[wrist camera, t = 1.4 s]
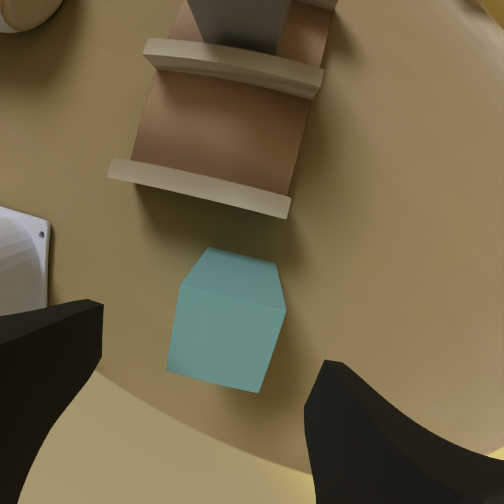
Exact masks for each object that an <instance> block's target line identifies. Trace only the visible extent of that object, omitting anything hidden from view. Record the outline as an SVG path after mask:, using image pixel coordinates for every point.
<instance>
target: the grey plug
mask: <svg viewBox="0 0 504 504" xmlns="http://www.w3.org/2000/svg"><path fill="white" fill-rule="evenodd" d="M187 2H188V4H189V6H190V9H191V11H192V14H193V16H194V19H195V21H196V24H197V26H198V29H199V31H200V34H201V36H202V39H203V41H204V43H209V44H216V45H222V46H228V47H234V48H240V49H245V50H250V51H255V52H260V53H264V54H269V55H273V56H277V52H278V49H279V46H280V42H281V39H282V35H283V32H284V29H285V25H286V22H287V19H288V15H289V12H290V9H291V4H292V0H187Z"/></svg>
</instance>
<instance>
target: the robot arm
mask: <svg viewBox="0 0 504 504" xmlns="http://www.w3.org/2000/svg"><path fill="white" fill-rule="evenodd" d="M43 232H44V237H43V234H42V233H43ZM49 240H50V223H49V222H48V221H47V220H44V219H41V218H38V217H34V216H31V215H28V214H24V213H21V212H18V211H14V210H11V209H8V208H5V207H1V206H0V504H17V502H18V499H19V496H20V493H21V491H22V488H23V485H24V483H25V480H26V478H27V475H28V473H29V470H30V468H31V466H32V464H33V462H34V460H35V458H36V456H37V453H38V451H39V449H40V447H41V446H42V444H43V442H44V440H45V438H46V437H47V435H48V433H49V431H50V429H51V428H52V426H53V425H54V423H55V422H56V420H57V419H58V418H59V417H60V415H61V414H62V413H63V412H64V410H65V409H66V408H67V406H68V405H69V404H70V403H71V401H72V400H73V399H74V397H75V396H76V395H77V394H78V392H79V391H80V390H81V389H82V387H83V386H84V385H85V383H86V382H87V381H88V379H89V378H90V376H91V375H92V373H93V371H94V370H95V368H96V366H97V364H98V363H99V361H100V359H101V357H102V330H103V310H104V304H101V303H98V302H95V301H92V300H89V299H84V300H77V301H72V302H68V303H63V304H59V305H55V306H50V307H47V276H48V254H49ZM304 427H305V437H306V443H307V448H308V454H309V459H310V464H311V470H312V475H313V480H314V486H315V494H316V504H504V460H499V459H495V458H491V457H488V456H484V455H481V454H478V453H475V452H472V451H470V450H467V449H465V448H462V447H460V446H458V445H455V444H453V443H451V442H449V441H447V440H445V439H443V438H441V437H439V436H437V435H435V434H434V433H432V432H430V431H429V430H427V429H425V428H424V427H422V426H421V425H419V424H417V423H416V422H414V421H413V420H411V419H410V418H409V417H407V416H406V415H404V414H403V413H402V412H401V411H399V410H398V409H397V408H395V407H394V406H393V405H392V404H390V403H389V402H388V401H387V400H386V399H384V398H383V397H382V396H381V395H380V394H379V393H377V392H376V391H375V390H374V389H373V388H372V387H371V386H369V385H368V384H367V383H366V382H365V381H364V380H363V379H362V378H361V377H359V376H358V375H357V374H356V373H355V372H354V371H353V370H351V369H350V368H349V367H348V366H346V365H345V364H344V363H342V362H336V361H330V360H324V362H323V365H322V367H321V369H320V372H319V374H318V377H317V379H316V381H315V384H314V386H313V388H312V390H311V393H310V395H309V397H308V399H307V401H306V404H305V406H304Z"/></svg>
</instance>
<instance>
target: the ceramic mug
mask: <svg viewBox="0 0 504 504" xmlns="http://www.w3.org/2000/svg"><path fill="white" fill-rule="evenodd" d="M62 1H63V0H0V32H4V33H17V32H22V31H27V30H30V29H33V28H35V27H37V26H39V25H41V24H43V23H44V22H45V21H46V20H47V19H48V18H50V17H51V16H52V15H53V14H54V12H55V11H56V10H57V9H58V7H59V6H60V4H61V3H62Z"/></svg>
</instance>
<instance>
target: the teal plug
mask: <svg viewBox="0 0 504 504" xmlns="http://www.w3.org/2000/svg"><path fill="white" fill-rule="evenodd" d="M285 314H286V306H285V302H284V297H283V293H282V288H281V284H280V279H279V275H278V271H277V266H276V263H273V262H269V261H265V260H261V259H257V258H253V257H249V256H245V255H241V254H237V253H233V252H229V251H225V250H222V249H218V248H214V247H210V246H209V247H208V248H207V249H206V251H205V252H204V253H203V255H202V256H201V257H200V259H199V260H198V261H197V263H196V264H195V266H194V267H193V268H192V270H191V271H190V272H189V274H188V275H187V276H186V278H185V279H184V280H183V282H182V283H181V285H180V290H179V296H178V301H177V307H176V312H175V318H174V324H173V329H172V335H171V341H170V348H169V354H168V360H167V367H166V371H169V372H172V373H176V374H179V375H183V376H187V377H190V378H194V379H198V380H202V381H206V382H210V383H214V384H218V385H222V386H227V387H231V388H236V389H240V390H245V391H250V392H255V393H259V391H260V388H261V385H262V382H263V379H264V377H265V374H266V371H267V368H268V365H269V362H270V359H271V356H272V353H273V351H274V348H275V345H276V342H277V339H278V336H279V333H280V330H281V327H282V324H283V320H284V317H285Z"/></svg>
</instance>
